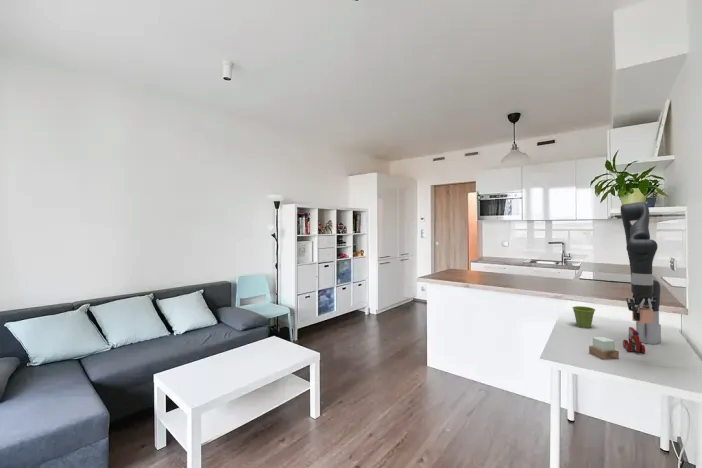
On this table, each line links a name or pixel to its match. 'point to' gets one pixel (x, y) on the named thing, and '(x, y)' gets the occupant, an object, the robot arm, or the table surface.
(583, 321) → the plant pot
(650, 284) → the robot arm
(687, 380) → the table surface
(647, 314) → the terracotta block
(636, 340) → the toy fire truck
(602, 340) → the greygreen middle
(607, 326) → the table surface
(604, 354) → the walnut base
